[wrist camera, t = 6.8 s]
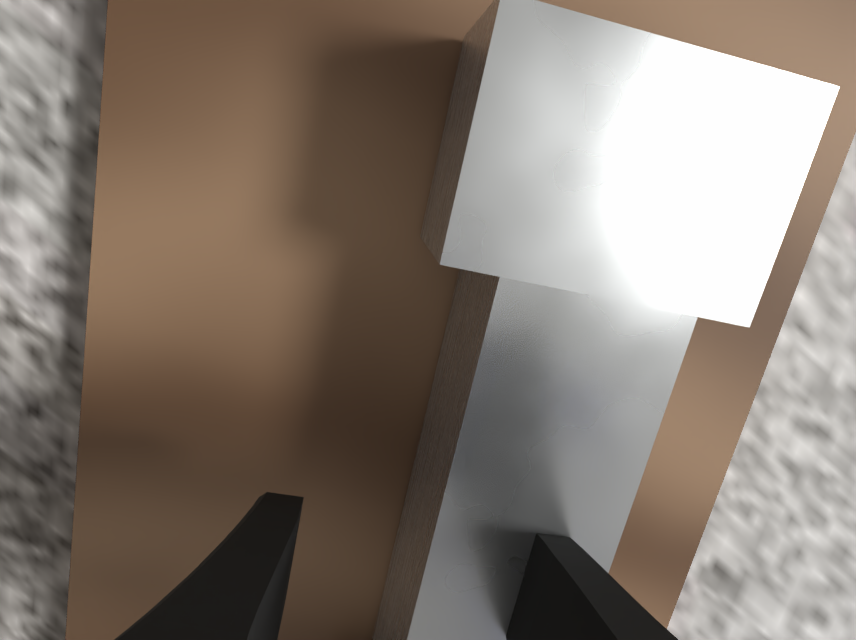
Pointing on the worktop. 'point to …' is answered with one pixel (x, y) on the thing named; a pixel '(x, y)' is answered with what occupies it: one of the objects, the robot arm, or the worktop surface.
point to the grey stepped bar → (578, 285)
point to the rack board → (344, 292)
